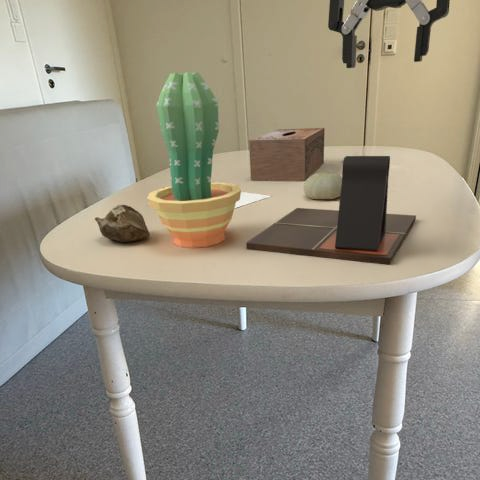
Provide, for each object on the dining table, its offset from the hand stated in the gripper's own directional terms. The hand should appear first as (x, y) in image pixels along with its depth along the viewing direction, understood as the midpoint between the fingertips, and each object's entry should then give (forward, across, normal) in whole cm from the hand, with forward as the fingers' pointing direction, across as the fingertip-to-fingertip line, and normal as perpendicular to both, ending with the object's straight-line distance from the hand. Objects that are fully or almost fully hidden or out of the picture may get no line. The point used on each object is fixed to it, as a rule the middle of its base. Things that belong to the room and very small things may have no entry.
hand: (383, 64), depth 58 cm
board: (+24, +6, -2) cm, 25 cm away
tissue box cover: (+24, +35, -54) cm, 69 cm away
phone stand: (+23, +1, +3) cm, 23 cm away
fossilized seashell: (+24, +40, +11) cm, 48 cm away
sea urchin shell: (+24, +16, -27) cm, 40 cm away
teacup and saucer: (+24, +40, -18) cm, 50 cm away
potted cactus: (+24, +28, +7) cm, 37 cm away
